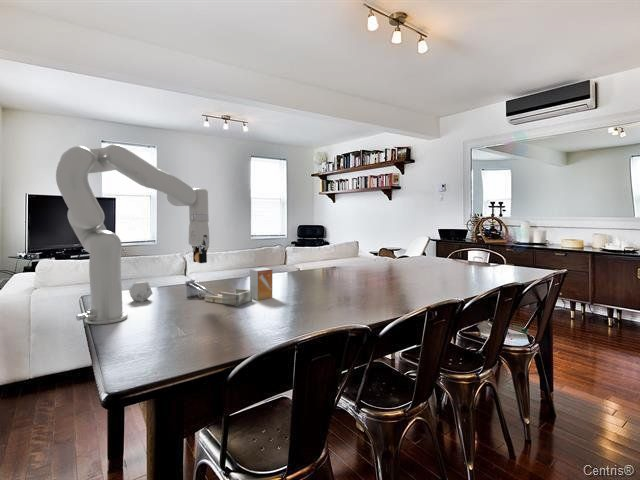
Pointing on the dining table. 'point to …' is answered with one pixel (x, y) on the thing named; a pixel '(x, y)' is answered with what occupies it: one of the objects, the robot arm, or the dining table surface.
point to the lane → (231, 297)
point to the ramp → (197, 289)
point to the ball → (197, 257)
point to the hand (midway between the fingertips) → (200, 261)
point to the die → (140, 291)
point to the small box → (261, 283)
